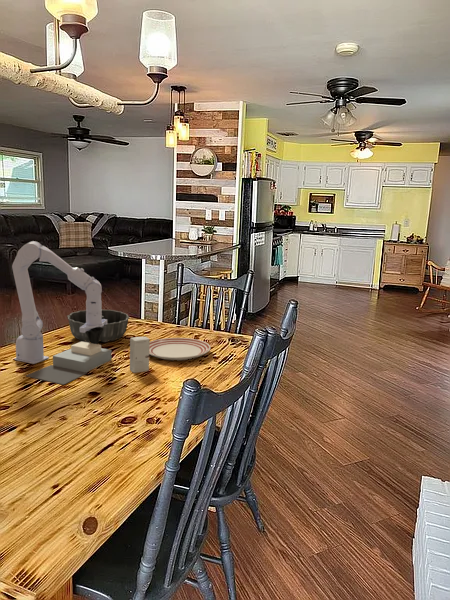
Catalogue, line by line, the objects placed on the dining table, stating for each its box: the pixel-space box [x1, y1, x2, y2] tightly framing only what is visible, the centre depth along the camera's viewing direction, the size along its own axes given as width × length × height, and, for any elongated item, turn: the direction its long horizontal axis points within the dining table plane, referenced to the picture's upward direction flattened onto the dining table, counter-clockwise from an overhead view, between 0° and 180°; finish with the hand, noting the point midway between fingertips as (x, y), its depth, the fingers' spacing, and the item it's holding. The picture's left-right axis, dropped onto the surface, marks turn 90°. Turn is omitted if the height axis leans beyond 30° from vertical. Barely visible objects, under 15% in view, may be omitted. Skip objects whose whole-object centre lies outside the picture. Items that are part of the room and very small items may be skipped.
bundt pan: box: [66, 309, 130, 343], centre depth 206 cm, size 26×26×10 cm
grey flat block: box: [52, 347, 112, 373], centre depth 174 cm, size 14×16×4 cm
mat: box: [25, 364, 88, 386], centre depth 162 cm, size 16×12×1 cm
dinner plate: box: [149, 337, 211, 362], centre depth 191 cm, size 27×27×3 cm
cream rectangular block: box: [70, 341, 102, 355], centre depth 175 cm, size 9×6×2 cm, turn 68°
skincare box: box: [129, 336, 151, 374], centre depth 169 cm, size 6×4×12 cm
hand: (94, 346), depth 180 cm, fingers closed
